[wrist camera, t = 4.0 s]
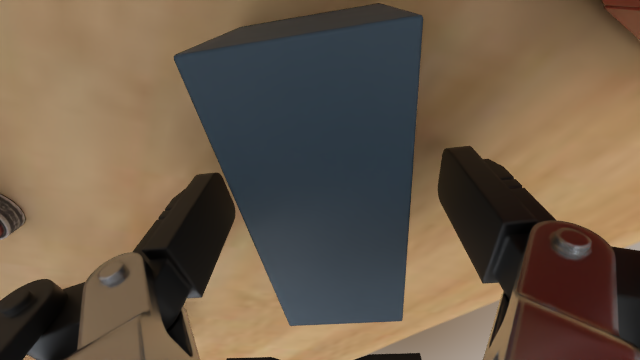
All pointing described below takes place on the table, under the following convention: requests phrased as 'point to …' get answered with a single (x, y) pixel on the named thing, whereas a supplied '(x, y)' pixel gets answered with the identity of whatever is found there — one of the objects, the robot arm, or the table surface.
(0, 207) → the lighter
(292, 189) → the blue rectangular block
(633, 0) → the bowl
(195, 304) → the table surface
